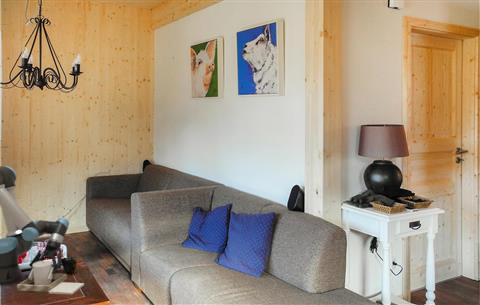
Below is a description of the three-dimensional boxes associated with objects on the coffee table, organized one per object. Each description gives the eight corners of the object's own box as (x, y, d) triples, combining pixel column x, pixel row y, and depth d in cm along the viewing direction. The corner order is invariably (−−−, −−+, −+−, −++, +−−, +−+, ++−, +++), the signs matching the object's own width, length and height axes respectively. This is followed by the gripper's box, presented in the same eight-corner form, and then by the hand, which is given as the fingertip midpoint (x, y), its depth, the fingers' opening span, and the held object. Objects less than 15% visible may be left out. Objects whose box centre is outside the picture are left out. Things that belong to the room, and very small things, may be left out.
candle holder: (44, 288, 224) (44, 267, 223) (29, 287, 226) (28, 265, 225) (56, 282, 233) (55, 261, 233) (41, 280, 235) (40, 260, 235)
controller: (71, 275, 243) (71, 259, 242) (59, 271, 250) (58, 255, 249) (78, 273, 247) (77, 257, 246) (65, 269, 253) (64, 253, 253)
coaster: (48, 293, 218) (48, 291, 218) (61, 283, 230) (61, 282, 230) (72, 294, 216) (72, 292, 216) (84, 284, 229) (84, 283, 229)
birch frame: (17, 290, 222) (17, 284, 221) (37, 277, 239) (37, 272, 239) (49, 291, 220) (48, 286, 219) (66, 279, 238) (66, 274, 237)
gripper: (75, 246, 242) (62, 283, 228) (38, 245, 245) (23, 281, 230) (70, 240, 237) (56, 277, 222) (33, 239, 239) (16, 275, 225)
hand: (39, 279), depth 226 cm, fingers open, 10 cm apart
